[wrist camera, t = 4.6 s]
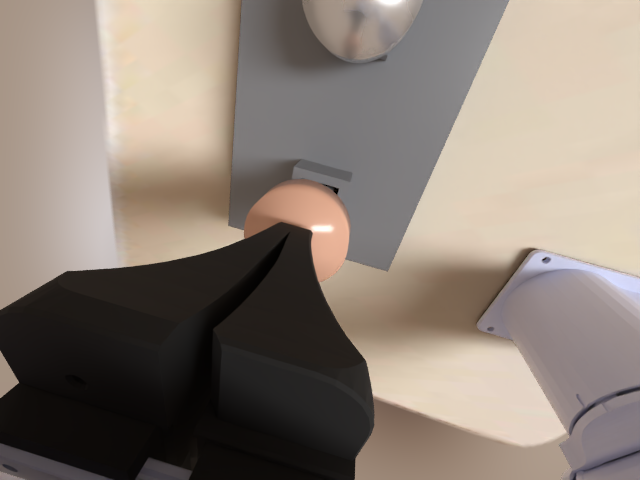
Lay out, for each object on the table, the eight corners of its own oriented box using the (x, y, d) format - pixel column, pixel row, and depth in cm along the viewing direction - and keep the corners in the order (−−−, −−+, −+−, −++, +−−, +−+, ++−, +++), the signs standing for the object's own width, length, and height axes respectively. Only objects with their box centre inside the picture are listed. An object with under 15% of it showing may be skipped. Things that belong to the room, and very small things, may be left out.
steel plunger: (422, -24, 13) (454, -96, 8) (390, 79, 15) (400, 71, 10) (335, -46, 13) (314, -129, 8) (316, 59, 15) (291, 43, 10)
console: (526, -71, 12) (591, -140, 8) (386, 256, 21) (389, 289, 17) (268, -133, 12) (228, -224, 9) (239, 214, 21) (214, 238, 18)
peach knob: (364, 171, 15) (361, 208, 10) (343, 238, 17) (332, 295, 12) (288, 150, 15) (248, 176, 10) (277, 219, 17) (240, 268, 12)
